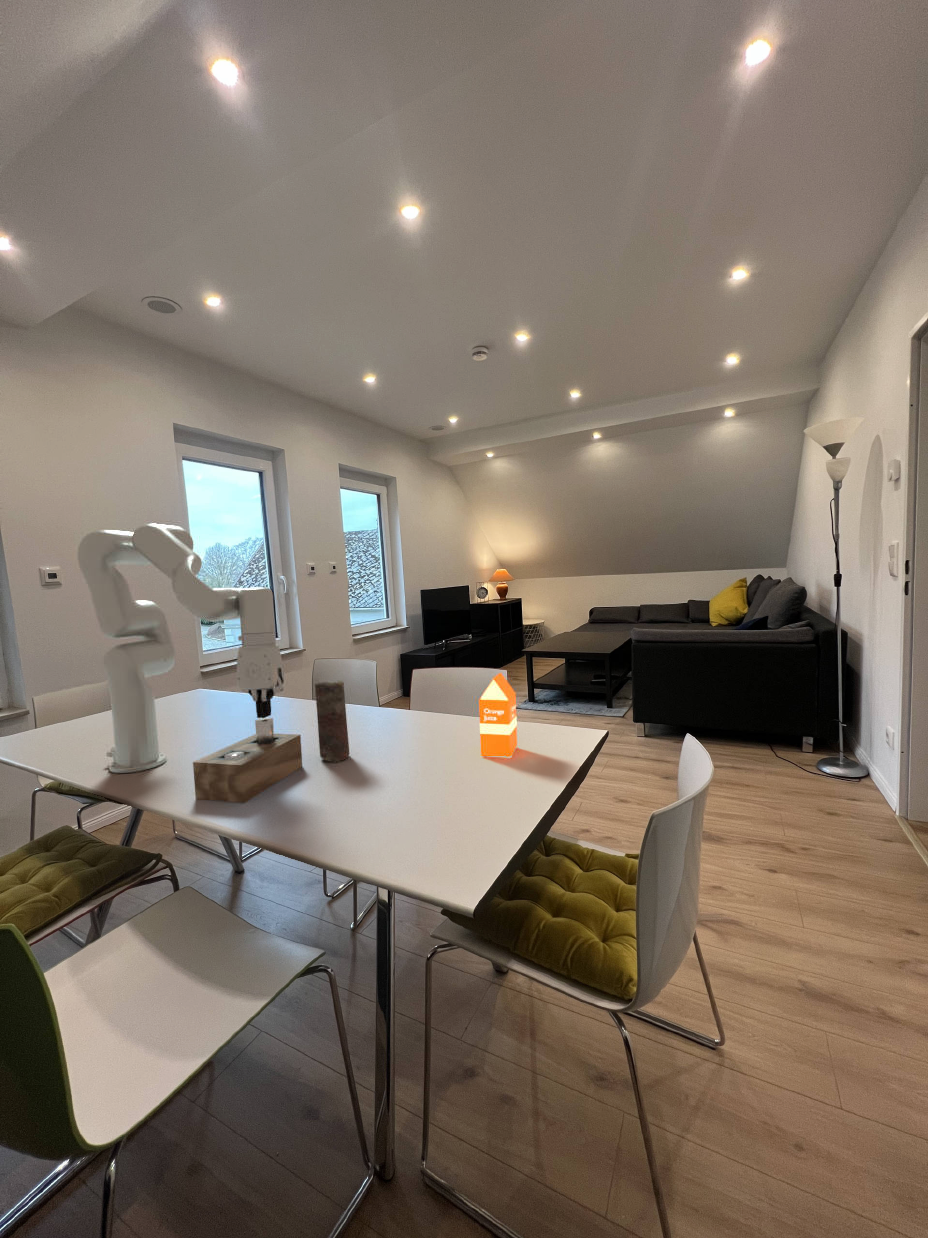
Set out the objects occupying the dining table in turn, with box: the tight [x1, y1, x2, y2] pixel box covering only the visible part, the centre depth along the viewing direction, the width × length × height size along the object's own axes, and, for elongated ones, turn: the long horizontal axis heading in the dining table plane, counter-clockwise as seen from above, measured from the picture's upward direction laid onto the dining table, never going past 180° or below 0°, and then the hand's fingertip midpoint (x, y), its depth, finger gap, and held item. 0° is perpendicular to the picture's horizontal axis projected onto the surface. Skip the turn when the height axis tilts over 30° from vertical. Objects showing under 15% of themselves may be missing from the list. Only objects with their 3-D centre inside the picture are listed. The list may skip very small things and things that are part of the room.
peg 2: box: [254, 717, 275, 744], centre depth 128 cm, size 4×4×7 cm
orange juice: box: [478, 672, 518, 757], centre depth 137 cm, size 8×9×20 cm
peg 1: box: [224, 752, 244, 759], centre depth 118 cm, size 4×4×7 cm
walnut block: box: [192, 733, 303, 804], centre depth 123 cm, size 12×22×8 cm, turn 165°
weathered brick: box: [314, 680, 350, 763], centre depth 137 cm, size 8×7×20 cm
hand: (264, 716), depth 128 cm, fingers closed
